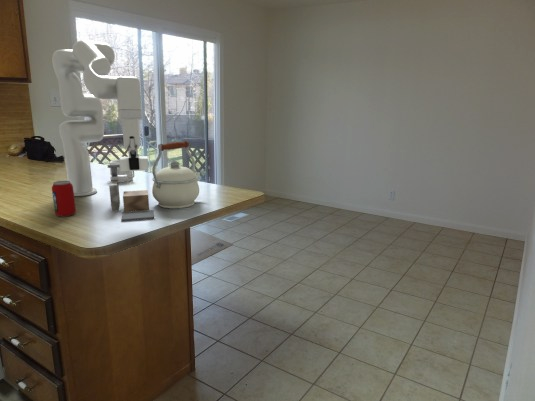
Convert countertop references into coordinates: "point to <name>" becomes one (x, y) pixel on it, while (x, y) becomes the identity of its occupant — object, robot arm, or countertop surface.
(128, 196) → the housing
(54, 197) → the beverage can
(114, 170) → the latch
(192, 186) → the kettle
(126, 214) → the mat
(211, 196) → the countertop surface
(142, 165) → the cover
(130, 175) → the mug
